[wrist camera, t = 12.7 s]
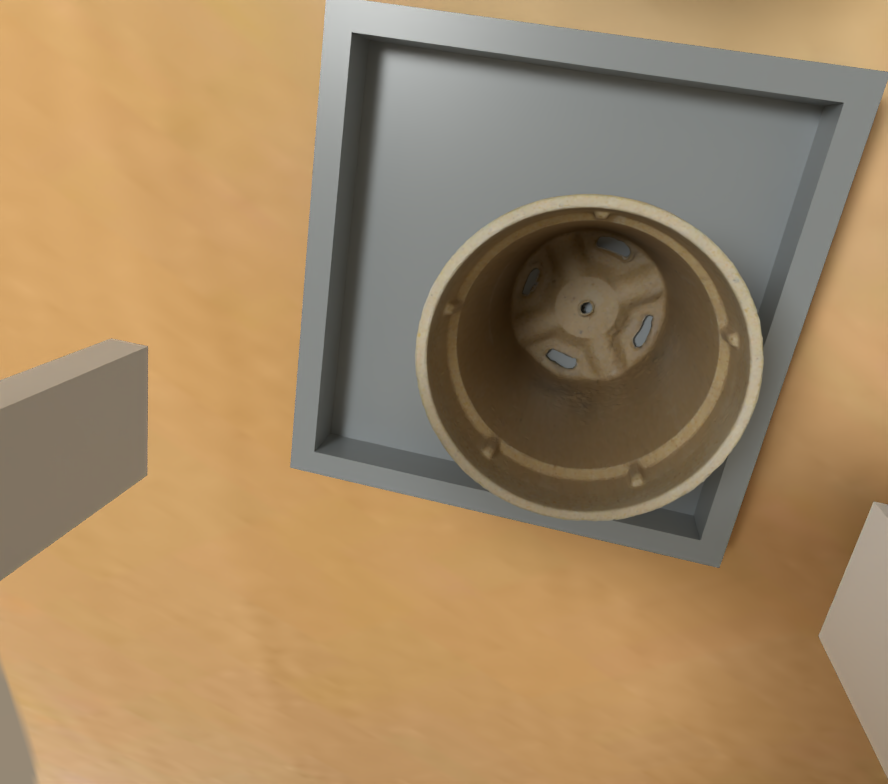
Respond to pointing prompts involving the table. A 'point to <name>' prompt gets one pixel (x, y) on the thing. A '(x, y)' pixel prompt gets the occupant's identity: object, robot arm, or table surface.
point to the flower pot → (589, 358)
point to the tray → (539, 177)
